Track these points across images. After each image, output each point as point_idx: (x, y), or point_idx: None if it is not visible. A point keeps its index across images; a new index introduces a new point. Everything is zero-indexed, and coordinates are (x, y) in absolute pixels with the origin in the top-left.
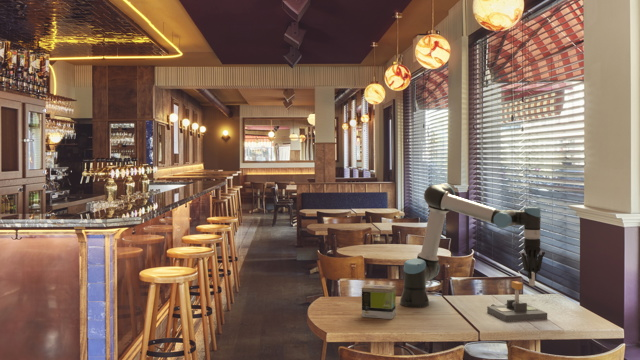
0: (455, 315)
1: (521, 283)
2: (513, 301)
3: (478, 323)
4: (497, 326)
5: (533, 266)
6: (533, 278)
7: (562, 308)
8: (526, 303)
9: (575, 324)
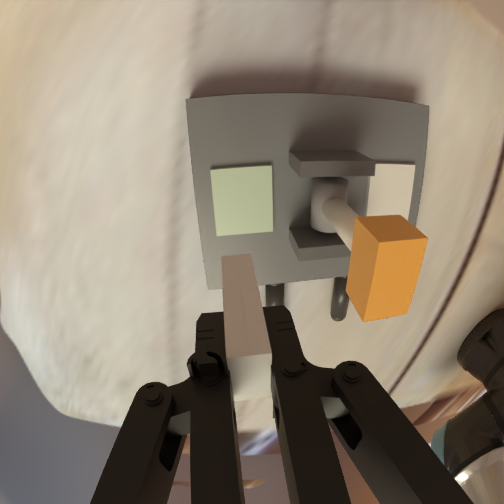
0: (493, 228)
1: (388, 241)
2: (333, 241)
3: (493, 119)
4: (464, 60)
5: (237, 453)
6: (243, 302)
7: (48, 281)
8: (302, 161)
9: (102, 8)
